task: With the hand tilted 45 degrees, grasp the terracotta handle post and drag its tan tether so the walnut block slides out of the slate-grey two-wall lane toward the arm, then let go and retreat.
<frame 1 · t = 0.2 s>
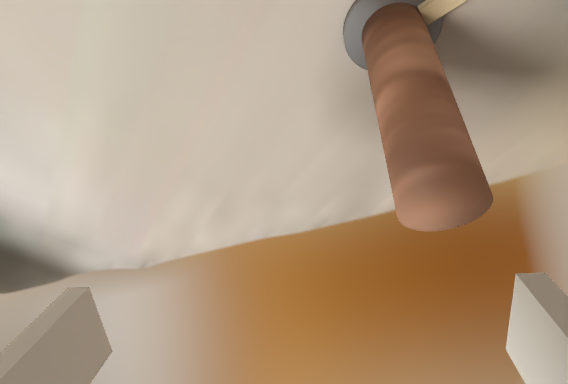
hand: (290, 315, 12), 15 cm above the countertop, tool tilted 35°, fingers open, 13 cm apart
tethered block: (390, 26, 20), on the countertop
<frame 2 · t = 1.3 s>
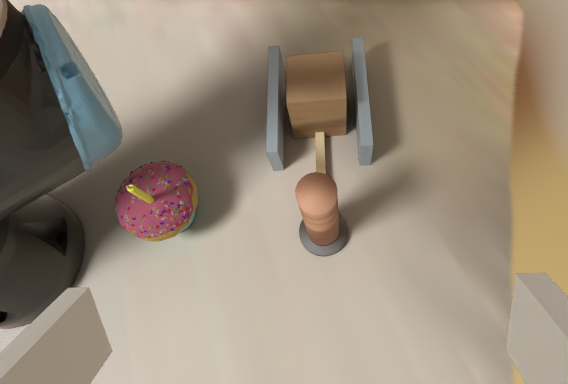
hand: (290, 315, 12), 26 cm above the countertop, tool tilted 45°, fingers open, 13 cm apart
lane: (319, 115, 45), on the countertop
cupcake: (175, 214, 43), on the countertop
tethered block: (323, 232, 39), on the countertop
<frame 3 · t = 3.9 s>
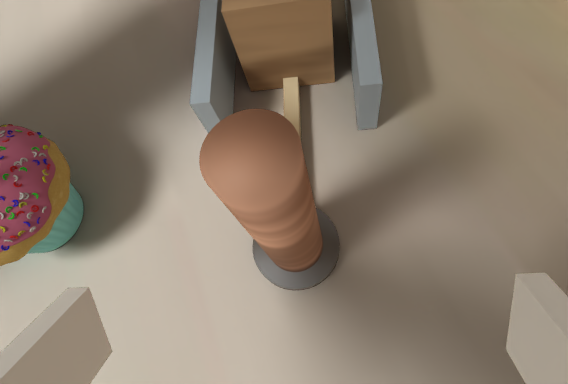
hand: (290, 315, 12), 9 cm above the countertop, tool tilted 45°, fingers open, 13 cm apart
lane: (291, 54, 28), on the countertop
cupcake: (51, 220, 26), on the countertop
tethered block: (296, 246, 22), on the countertop
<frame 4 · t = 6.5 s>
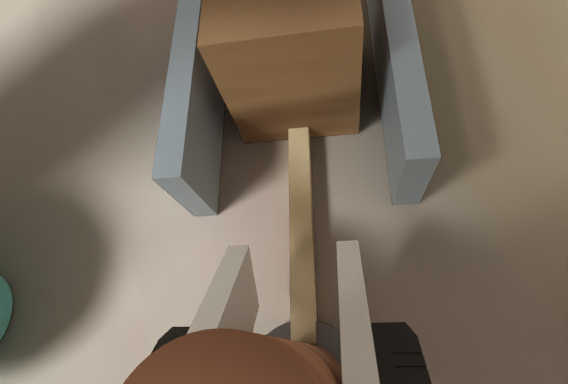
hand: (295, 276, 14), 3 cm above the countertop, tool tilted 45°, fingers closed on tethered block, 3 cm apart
lane: (298, 91, 21), on the countertop
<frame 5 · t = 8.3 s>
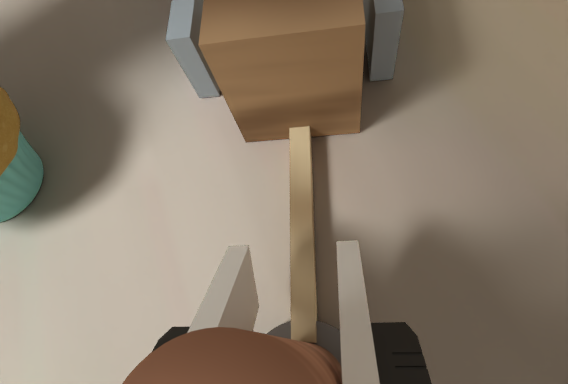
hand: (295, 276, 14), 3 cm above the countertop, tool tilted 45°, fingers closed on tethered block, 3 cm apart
cupcake: (6, 186, 22), on the countertop
when the fingers open (4 cm above the countertop, at t = 10.5 s): tethered block stays where it is, on the countertop.
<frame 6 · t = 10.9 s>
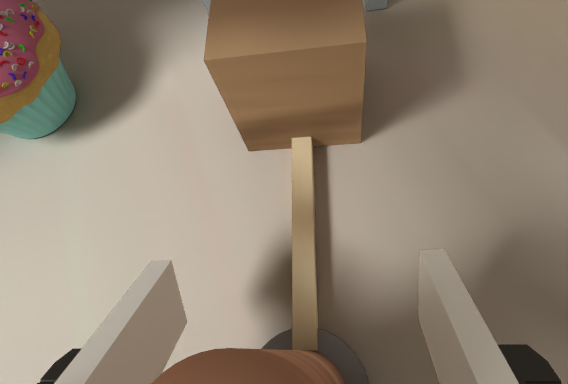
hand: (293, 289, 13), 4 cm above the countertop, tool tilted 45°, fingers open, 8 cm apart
cupcake: (42, 110, 24), on the countertop
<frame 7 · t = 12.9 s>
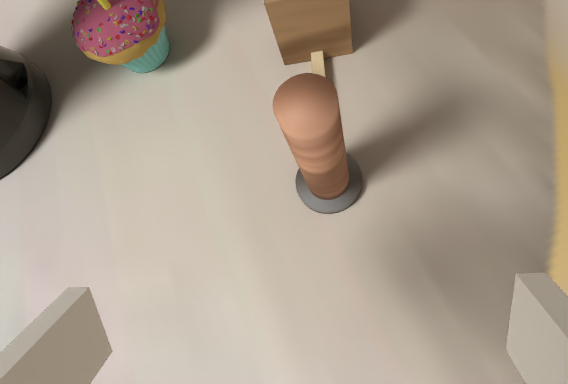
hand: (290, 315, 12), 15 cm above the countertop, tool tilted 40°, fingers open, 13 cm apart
cupcake: (147, 55, 38), on the countertop
tethered block: (328, 182, 29), on the countertop
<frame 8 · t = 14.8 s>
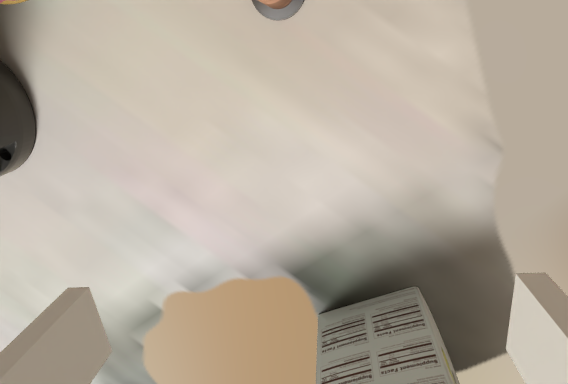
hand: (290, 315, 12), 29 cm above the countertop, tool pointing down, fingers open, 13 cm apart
supplement box: (389, 348, 48), on the countertop
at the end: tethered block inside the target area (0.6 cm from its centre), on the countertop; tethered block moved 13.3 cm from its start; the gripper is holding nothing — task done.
